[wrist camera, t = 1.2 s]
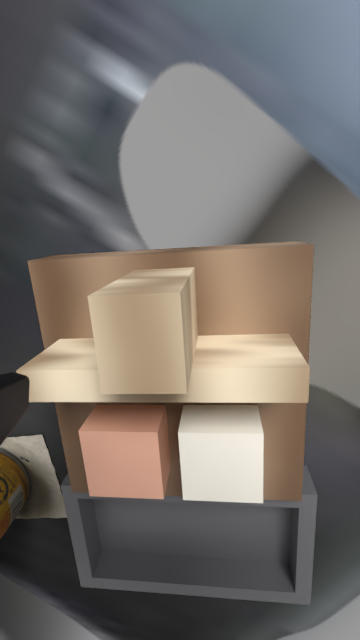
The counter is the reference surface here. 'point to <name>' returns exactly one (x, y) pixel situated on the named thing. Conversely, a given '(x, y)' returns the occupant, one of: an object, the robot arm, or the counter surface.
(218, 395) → the t-shaped wooden block
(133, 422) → the tile terracotta
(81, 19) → the counter surface
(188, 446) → the tile cream
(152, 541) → the tray
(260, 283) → the plate
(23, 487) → the condiment
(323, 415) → the counter surface
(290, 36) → the counter surface
